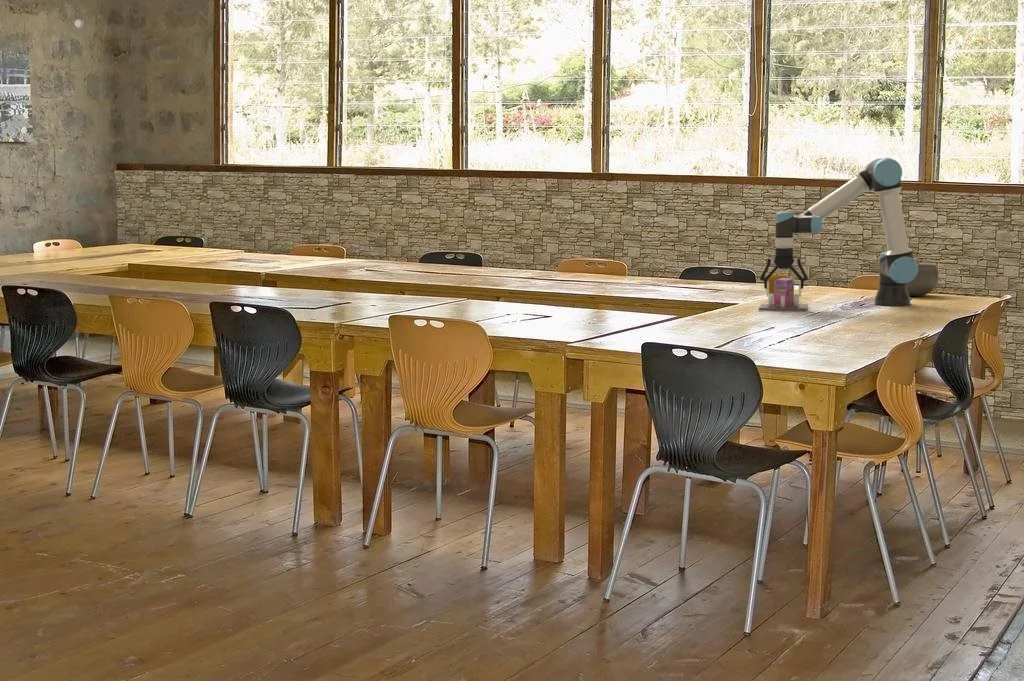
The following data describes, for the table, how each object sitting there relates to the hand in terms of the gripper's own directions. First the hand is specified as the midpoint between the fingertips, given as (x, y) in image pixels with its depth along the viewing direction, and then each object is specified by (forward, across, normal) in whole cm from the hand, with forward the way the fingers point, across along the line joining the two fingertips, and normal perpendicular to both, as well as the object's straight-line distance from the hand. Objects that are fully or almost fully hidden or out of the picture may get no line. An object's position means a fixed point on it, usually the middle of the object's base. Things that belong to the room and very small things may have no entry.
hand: (783, 296), depth 551 cm
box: (+4, 0, 0) cm, 4 cm away
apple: (+6, +5, -38) cm, 39 cm away
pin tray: (+5, 0, 0) cm, 5 cm away
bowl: (+6, -57, -64) cm, 86 cm away
